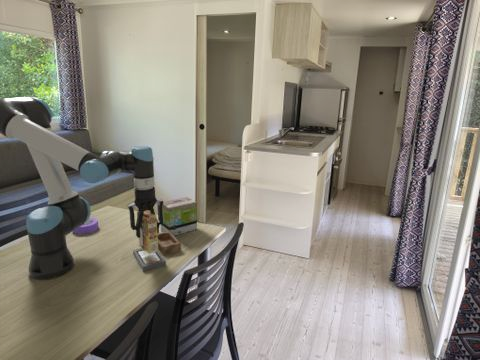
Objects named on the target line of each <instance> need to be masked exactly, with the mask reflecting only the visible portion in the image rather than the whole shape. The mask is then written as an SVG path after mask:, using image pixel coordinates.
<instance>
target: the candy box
mask: <svg viewBox="0 0 480 360" xmlns="http://www.w3.org/2000/svg"><path fill="white" fill-rule="evenodd" d="M137 216H138V211H136V217H137ZM156 218H157V215H156V214H155V215H154V214H152V213H151V212H150V211H149V210H146V211H144V214H143V217H142V222H141V227H140V228H141V229H142V234H143V246H141V245H140V243H139V242H138V243H139V247H140V248H143V249H144V250H145V251H146V252H148V253H149V254H151V253H154V252H157V251H159V250H158V236H157V221H158V218H157V219H156Z"/></svg>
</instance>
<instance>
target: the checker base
mask: <svg viewBox="0 0 480 360" xmlns="http://www.w3.org/2000/svg"><path fill="white" fill-rule="evenodd" d="M139 251H144V249H143V248H141V247H140V248H136V249H133V250H132V253H133V256H134V259H135V260H136V261H137V263H138V265H139V268H140V269H141V270H142V272H147V271H150V270H153V269H154V270H155V269H158V268H163V267H166V266H167V261H166V259H165V258H164V257H163V255H162V254H161V252H160V251H159V250H158V251H157V252H155V253H156V255H157V256H158V257H159V259H160V261H152V263H148V264H144V263H143V261H142V260H141V258H140V256H139V255H138V252H139Z"/></svg>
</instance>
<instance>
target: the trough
mask: <svg viewBox="0 0 480 360" xmlns="http://www.w3.org/2000/svg"><path fill="white" fill-rule="evenodd" d="M157 236H158V251H159V252H160V254H161V255H162V256H164V255H168V254H171V253H176V252H180V250H182V249H181V242H180V241H179V240H178V239H177V238H176V237H175V236H173V234H172V233H171V232H170V231H168V232H163V231H162V232H159V233H158V234H157Z"/></svg>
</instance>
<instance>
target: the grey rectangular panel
mask: <svg viewBox="0 0 480 360" xmlns="http://www.w3.org/2000/svg"><path fill="white" fill-rule="evenodd" d="M138 255H139V256H140V258H141V260H142V261H143V263H144V264H148V263H152V261H160V259H159V257H158V256H157V255H156V253H155V252H154V253H151V254H149V253H148V252H146V251H145V250H144V251H139V252H138Z"/></svg>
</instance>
